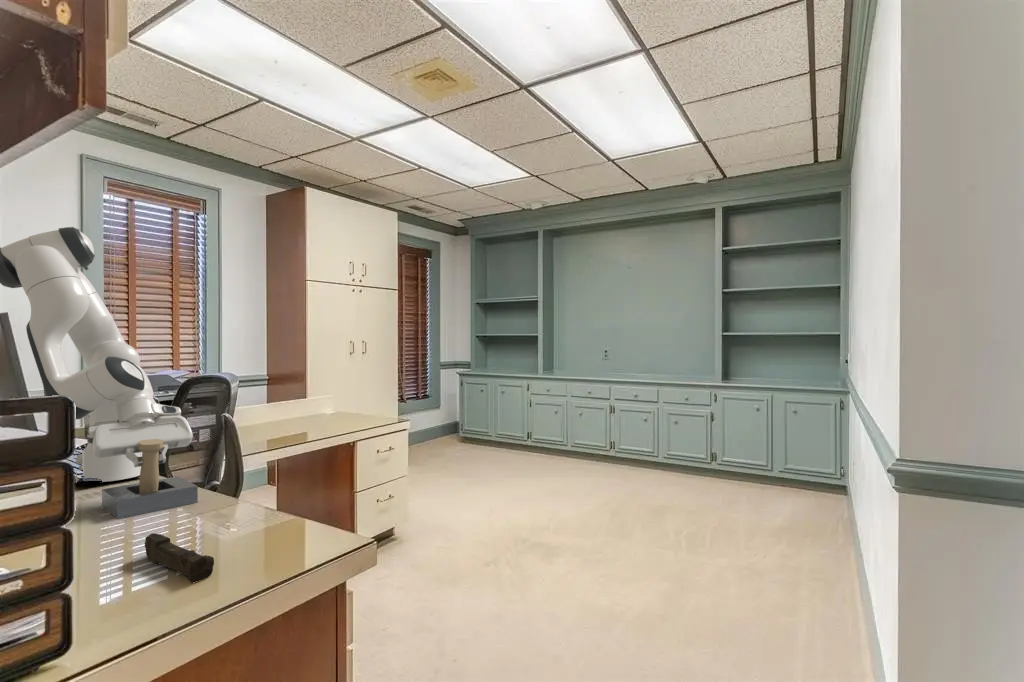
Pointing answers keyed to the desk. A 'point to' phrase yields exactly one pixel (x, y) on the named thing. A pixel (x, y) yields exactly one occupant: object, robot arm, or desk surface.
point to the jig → (149, 497)
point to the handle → (149, 465)
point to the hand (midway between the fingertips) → (150, 463)
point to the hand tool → (178, 558)
